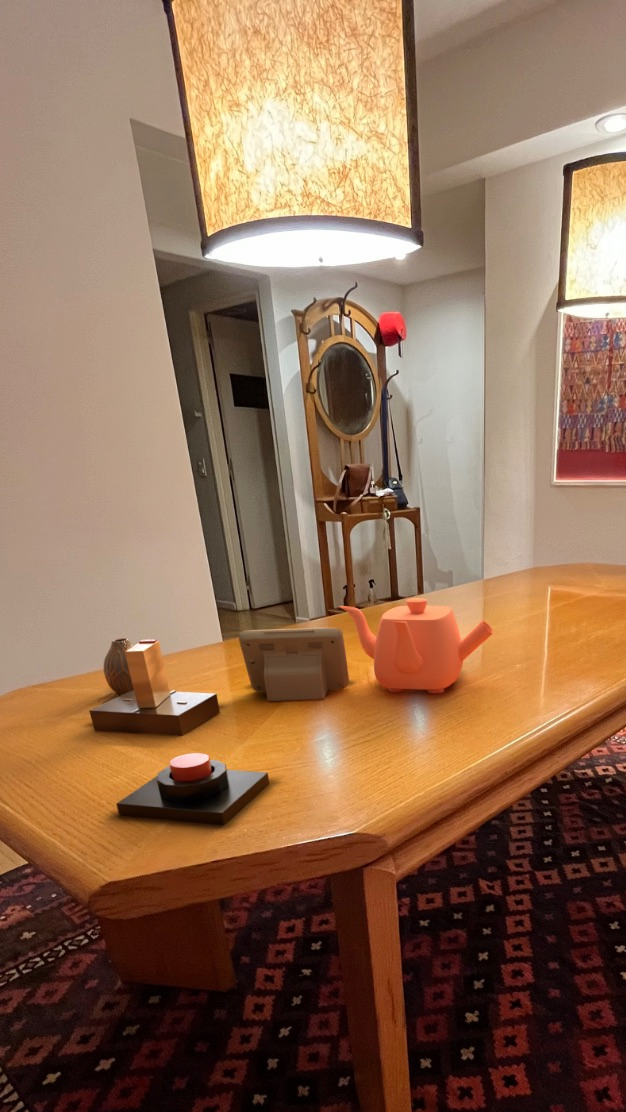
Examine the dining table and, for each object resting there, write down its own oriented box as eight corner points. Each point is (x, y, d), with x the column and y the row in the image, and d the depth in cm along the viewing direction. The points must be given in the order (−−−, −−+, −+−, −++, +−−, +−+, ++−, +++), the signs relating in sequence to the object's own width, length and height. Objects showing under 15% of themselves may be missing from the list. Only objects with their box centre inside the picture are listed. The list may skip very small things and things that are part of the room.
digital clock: (354, 686, 112) (349, 621, 107) (338, 704, 104) (331, 634, 99) (262, 684, 114) (252, 621, 109) (239, 701, 106) (228, 633, 101)
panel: (93, 730, 95) (88, 709, 94) (138, 708, 104) (134, 688, 103) (182, 736, 92) (177, 714, 91) (220, 712, 101) (216, 692, 100)
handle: (155, 707, 94) (142, 649, 91) (137, 708, 94) (123, 649, 90) (170, 694, 100) (158, 639, 96) (153, 695, 100) (140, 639, 96)
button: (164, 781, 70) (161, 766, 69) (186, 766, 74) (183, 751, 73) (199, 784, 69) (196, 768, 68) (219, 769, 73) (216, 754, 72)
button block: (120, 822, 70) (111, 787, 68) (176, 782, 79) (169, 750, 77) (225, 832, 67) (218, 796, 66) (270, 790, 76) (265, 757, 74)
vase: (131, 685, 115) (119, 634, 111) (164, 688, 113) (152, 636, 109) (100, 697, 110) (86, 643, 106) (134, 700, 107) (121, 646, 103)
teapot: (402, 709, 100) (397, 615, 94) (345, 682, 114) (337, 598, 108) (497, 686, 110) (498, 599, 104) (434, 664, 123) (431, 585, 117)
